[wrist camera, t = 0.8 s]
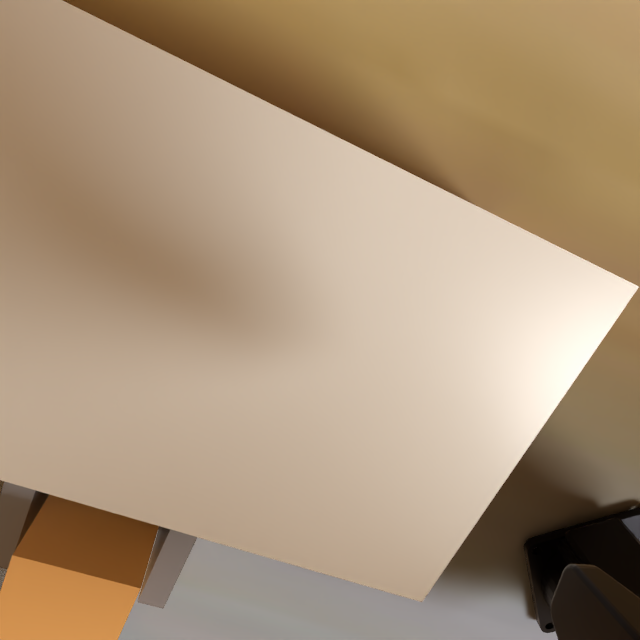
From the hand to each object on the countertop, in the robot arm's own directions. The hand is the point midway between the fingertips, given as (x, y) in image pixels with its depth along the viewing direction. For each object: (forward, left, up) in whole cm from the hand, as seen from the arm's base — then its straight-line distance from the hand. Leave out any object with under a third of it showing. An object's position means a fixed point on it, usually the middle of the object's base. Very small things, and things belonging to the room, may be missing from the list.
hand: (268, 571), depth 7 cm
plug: (-11, +13, -12) cm, 21 cm away
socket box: (-1, +4, -14) cm, 14 cm away
